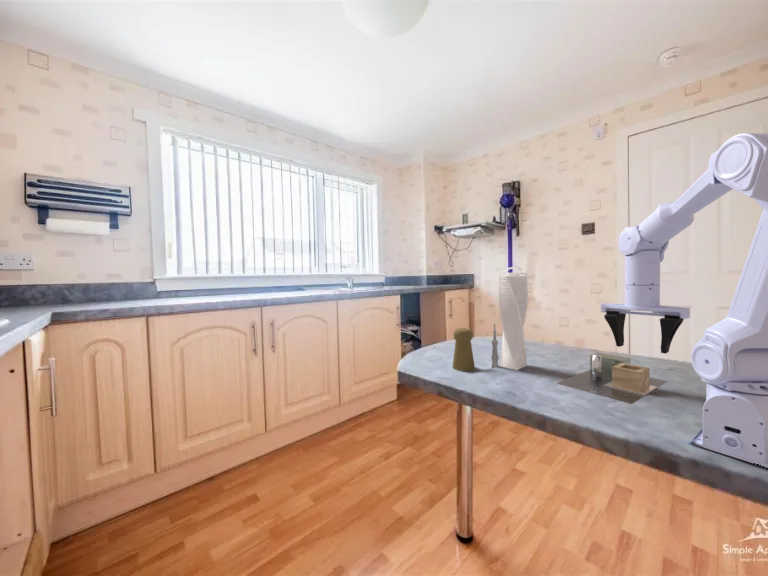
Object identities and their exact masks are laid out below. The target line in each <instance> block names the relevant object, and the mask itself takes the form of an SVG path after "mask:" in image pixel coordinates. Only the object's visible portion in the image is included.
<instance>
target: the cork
mask: <svg viewBox="0 0 768 576" xmlns="http://www.w3.org/2000/svg"><path fill="white" fill-rule="evenodd" d="M473 337H474V334H473V331H472V330H471V329H470V328H466V327H461V328H459V327H458V328H455V329H454V331H453V338H454V341H455V342H454V350H453V360H452V369H453V368H454V369H453V370H455V369H457V370H456V371H459V370H463V371H462V372H470V371H469V370H472V371H474V370H475V369H474V368H475V366H476V365H475V361H474V354H473V348H472V346H473V345H472V340H473ZM473 369H474V370H473Z"/></svg>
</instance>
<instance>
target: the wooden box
mask: <svg viewBox="0 0 768 576" xmlns="http://www.w3.org/2000/svg"><path fill="white" fill-rule="evenodd" d="M650 370H651V369H650V367H647V366H646V367H645V366H641V365H635V364H631V363H630V364H626V363H620V364H618V365H615V366H613V367H612V385H614V386H618V387H622V388H626V389H630V390H634V391H638V392H641V391H643V390H644V389H646V388H648V387H649V378H650Z"/></svg>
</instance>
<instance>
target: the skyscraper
mask: <svg viewBox="0 0 768 576" xmlns="http://www.w3.org/2000/svg"><path fill="white" fill-rule="evenodd" d="M511 269H512V270H513V269H514V270H515V269H518V271H517V272H507V271H509V270H511ZM521 271H522V268H521V267H520V266H511V267H507V268H504V269H503V270H502V272H500V274H499V276H498V309H499V310H498V311H499V316H500V323H501V327H502V338H501V345H500V359H499V351H498V344H499V341H498V340H497V330H496V324H493V327H494V328H493V331H492V333H493V339H492V340H491V344H492V350H491V351H492V352H491V355H492V356H490V357H491V362H492V363H491V369H494V368H498V367H499V366H500V367H503V368H507V369H512V370H514V371H515V370H516V371H519V370H520V369H522V368H525V367H527V366H528V359H527V352H526V351H527V350H526V349H527V348H526V347H527V346H526V339H525V331H524V324H525V322H526V317H527V310H528V296H529V295H528V293H529V292H528V274H527V272H521ZM504 273H506V275H504ZM499 360H500V361H499Z"/></svg>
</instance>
